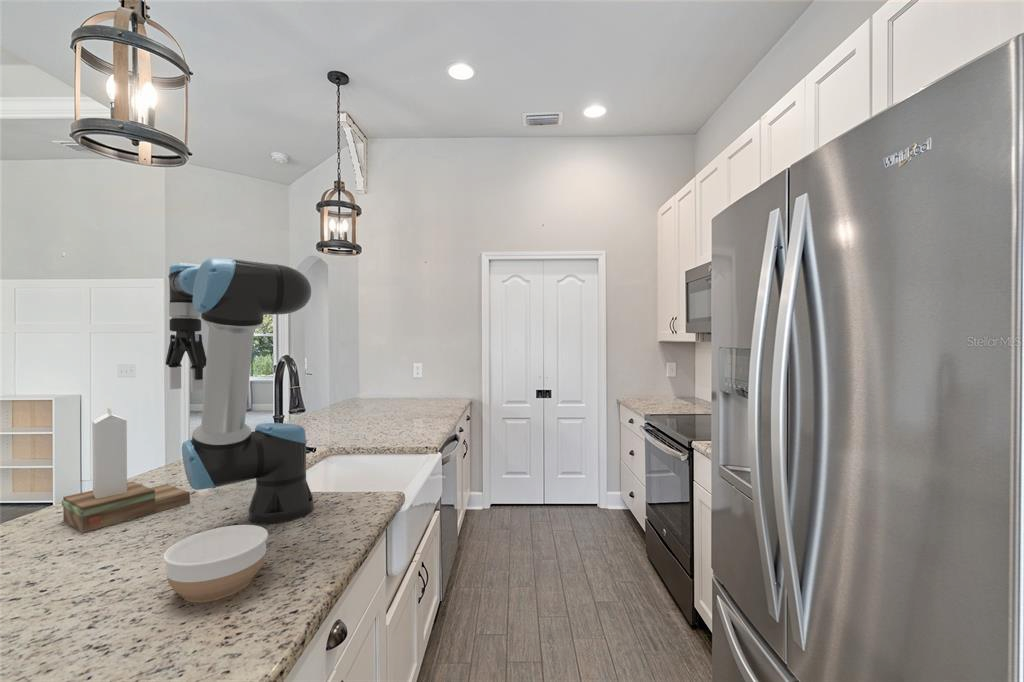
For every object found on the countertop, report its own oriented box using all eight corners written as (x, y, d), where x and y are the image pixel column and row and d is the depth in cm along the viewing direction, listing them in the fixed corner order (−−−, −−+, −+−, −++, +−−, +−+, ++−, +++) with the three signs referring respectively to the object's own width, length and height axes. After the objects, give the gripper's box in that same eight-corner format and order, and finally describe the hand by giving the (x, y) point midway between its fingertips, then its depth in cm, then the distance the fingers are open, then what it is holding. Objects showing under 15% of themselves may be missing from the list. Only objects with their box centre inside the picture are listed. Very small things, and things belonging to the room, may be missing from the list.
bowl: (265, 555, 92) (265, 518, 92) (271, 592, 78) (271, 548, 78) (169, 578, 83) (169, 536, 83) (157, 624, 70) (156, 574, 70)
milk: (95, 499, 109) (94, 410, 109) (92, 494, 113) (91, 408, 113) (128, 492, 113) (126, 407, 113) (124, 487, 117) (122, 405, 117)
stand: (190, 503, 122) (190, 481, 122) (82, 533, 103) (81, 508, 103) (167, 494, 130) (167, 473, 130) (61, 521, 110) (61, 497, 110)
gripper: (221, 317, 126) (221, 390, 126) (180, 319, 139) (181, 386, 139) (191, 316, 120) (191, 393, 120) (151, 318, 133) (152, 389, 133)
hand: (186, 390), depth 129 cm, fingers open, 13 cm apart
